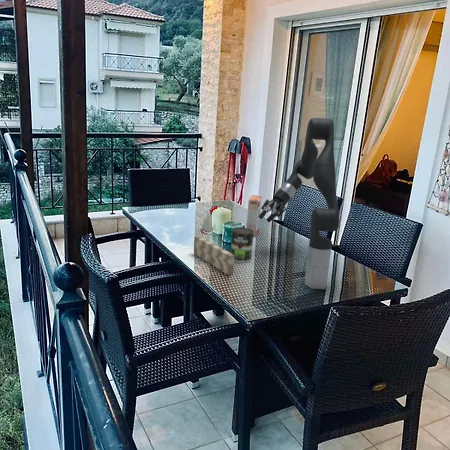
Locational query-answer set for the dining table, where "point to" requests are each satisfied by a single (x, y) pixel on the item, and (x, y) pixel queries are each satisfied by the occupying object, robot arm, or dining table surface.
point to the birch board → (214, 255)
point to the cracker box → (254, 213)
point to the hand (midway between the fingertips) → (263, 219)
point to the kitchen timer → (208, 221)
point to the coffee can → (242, 244)
